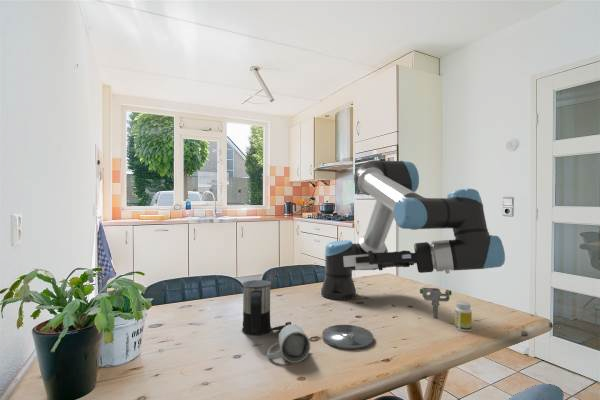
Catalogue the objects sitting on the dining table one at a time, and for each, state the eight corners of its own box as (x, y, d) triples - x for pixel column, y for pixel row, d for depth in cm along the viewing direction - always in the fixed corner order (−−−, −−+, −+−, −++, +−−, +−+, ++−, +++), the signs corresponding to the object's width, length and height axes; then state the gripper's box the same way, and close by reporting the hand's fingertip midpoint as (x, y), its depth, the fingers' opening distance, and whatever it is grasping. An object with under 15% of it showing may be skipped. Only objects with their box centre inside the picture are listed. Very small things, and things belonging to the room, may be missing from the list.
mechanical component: (452, 320, 110) (452, 291, 111) (420, 317, 113) (420, 289, 113) (449, 317, 113) (449, 288, 113) (419, 314, 115) (419, 287, 115)
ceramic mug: (303, 347, 90) (303, 319, 90) (310, 361, 82) (310, 331, 82) (265, 351, 87) (265, 323, 87) (269, 366, 79) (268, 335, 79)
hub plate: (312, 334, 98) (312, 330, 98) (350, 325, 106) (350, 321, 106) (343, 354, 85) (343, 350, 85) (384, 342, 93) (384, 338, 93)
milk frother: (239, 326, 104) (239, 281, 104) (284, 319, 111) (284, 276, 111) (250, 344, 91) (250, 292, 91) (300, 335, 97) (300, 286, 97)
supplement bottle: (474, 329, 102) (474, 303, 102) (466, 333, 100) (466, 306, 100) (460, 324, 106) (460, 299, 106) (451, 327, 104) (452, 301, 104)
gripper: (435, 269, 69) (339, 275, 76) (434, 273, 91) (360, 278, 98) (429, 234, 71) (336, 244, 78) (430, 247, 93) (357, 254, 100)
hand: (349, 263), depth 88 cm, fingers open, 13 cm apart
